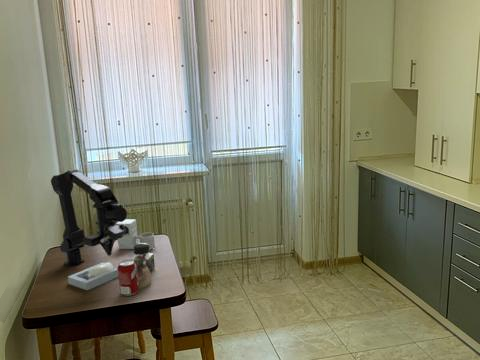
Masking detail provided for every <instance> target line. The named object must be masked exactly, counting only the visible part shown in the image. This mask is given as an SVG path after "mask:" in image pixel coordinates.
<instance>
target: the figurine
mask: <svg viewBox="0 0 480 360" xmlns="http://www.w3.org/2000/svg"><path fill="white" fill-rule="evenodd" d="M145 256H146V254H145V253H144V254H143V255H142V256H141V255H140V254H138V255H137V256H136V257H134V256H133V257H134V263H135V264H136V268H137V277H138V286H139V289H140V288H141V289H142V288H146V287H149V286H150V285H151V284H152V273H151V274H150V271H149V269H148V267H147V266H148V261H147V259H146V258H145ZM144 261H146V264H143V262H144Z"/></svg>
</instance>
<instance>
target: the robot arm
mask: <svg viewBox="0 0 480 360" xmlns="http://www.w3.org/2000/svg"><path fill="white" fill-rule="evenodd" d="M50 184H51V186H52V190H53V191H54V193H55V194H56V195H58V198H59V203H60V208H61V213H62V218H63V222H64V231H63V235H62V237H63V241H62V242H61V244H60V246H59V249H60V251H61V252H62V253H65V256H66V257H65V258H66V261H64V262H63V264H64V265H68V266H71V267H74V266H77V265H78V264H82V263H84V262H85V259H82V253H81V248H84V246H85V245H86V246H87V247H88V246H89V247H96V246H99V245H100V247H101V248H102V250H104V252H105V253H106V255H107V256H108V257H109V256H111V255H112V253H113V252H112V251H113V248H114V244H115V243H116V241H118V239H119V238H122V237H123V235H125V234H128V233H129V228H128V227H127V226H126V225H125V224H121V225H118V226H116V222H123V221H124V220H125V219H127V216H128V211H127V209H126V208H125V207H123V204H122V203H119V201H118V200H117V197H116V196H115V195H114V193H113V191H112V189H111V188H110V187H109V186H106V185H103V184H100V183H99V184H98V183H96V182H95V181H93V180H91V179H90V178H88V177H87V176H86V175H84V174H83V173H82V172H80V170H79V169H71V170H67V171H66V172H63V173H61V174H56V175H53V176H52V177H51V179H50ZM74 184H75V185H76V186H77V187H79V188H80V189H82V190H83V191H84V192H86V193H87V195H88V196H89V197H88V198H89V199H90V200H91V201H92V202H93V203H94V204H93V205H92V208H93V209H95V210H96V216H97V219H96V220H97V221H95V225H97V226H98V231H96V233H97V235H94V234H91V235H88V236H85V232H84V230H83V228H82V229H81V228H80V227H79V226H78V222H77V215H76V212H75V208H74V207H75V206H74V204H73V203H74V202H73V198H72V191H73V189H74Z"/></svg>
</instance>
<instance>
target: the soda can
mask: <svg viewBox="0 0 480 360" xmlns="http://www.w3.org/2000/svg"><path fill="white" fill-rule="evenodd" d="M117 267H118V268H117ZM117 267H116V268H117V269H118V277H117V278H118V285H119V292H120V294H121V295H123V296H126V297H129V296H134V295H135V294H137V293H138V292H139V291H140V288H139V286H138V277H137V268H136V264H135V263H134V261H133V260H131V259H124V260H120V261H119V262H118V266H117Z"/></svg>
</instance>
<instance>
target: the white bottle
mask: <svg viewBox="0 0 480 360" xmlns="http://www.w3.org/2000/svg"><path fill="white" fill-rule="evenodd" d="M104 263H105V264H103V265H100V266H98V267H95V268H93V269H91V270H89V271H88V275H84V279H86V280H89V279H91V278H94V277H96V276H98V275H101V274H103V273H105V272H108V271H110V270H112V269H115V268H114V265H113V264H112V263H111V262H110V261H108V262H104Z"/></svg>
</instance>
